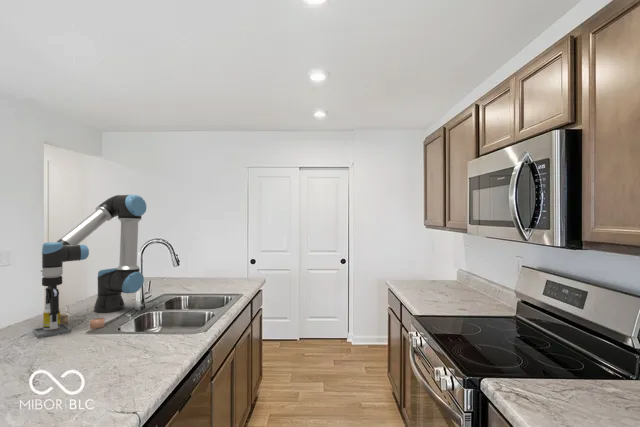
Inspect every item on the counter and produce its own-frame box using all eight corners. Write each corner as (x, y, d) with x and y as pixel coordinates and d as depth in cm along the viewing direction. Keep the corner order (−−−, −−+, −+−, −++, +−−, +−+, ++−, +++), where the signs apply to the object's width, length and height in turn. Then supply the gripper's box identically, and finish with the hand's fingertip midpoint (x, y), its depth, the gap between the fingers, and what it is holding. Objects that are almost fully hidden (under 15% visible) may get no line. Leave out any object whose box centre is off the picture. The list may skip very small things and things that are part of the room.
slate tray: (64, 326, 177) (64, 323, 177) (70, 332, 169) (70, 329, 169) (32, 332, 169) (32, 329, 169) (38, 338, 160) (38, 335, 160)
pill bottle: (53, 330, 166) (53, 305, 166) (39, 330, 166) (40, 305, 166) (63, 326, 172) (63, 302, 172) (50, 326, 172) (50, 302, 172)
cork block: (62, 323, 183) (62, 313, 183) (68, 325, 180) (68, 314, 181) (51, 326, 178) (51, 315, 179) (56, 327, 176) (56, 317, 176)
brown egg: (102, 324, 182) (102, 317, 182) (106, 327, 178) (106, 319, 178) (88, 327, 178) (88, 319, 178) (92, 329, 174) (92, 322, 174)
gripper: (37, 274, 173) (37, 324, 173) (46, 279, 160) (46, 333, 160) (57, 273, 179) (56, 321, 178) (67, 277, 165) (67, 329, 165)
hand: (51, 327), depth 169 cm, fingers closed on pill bottle, 6 cm apart
